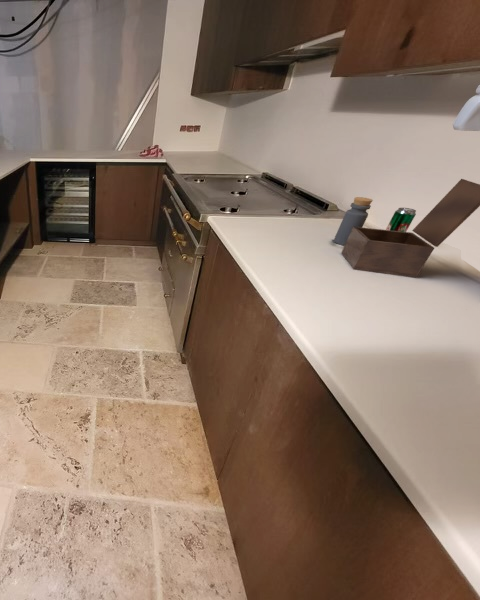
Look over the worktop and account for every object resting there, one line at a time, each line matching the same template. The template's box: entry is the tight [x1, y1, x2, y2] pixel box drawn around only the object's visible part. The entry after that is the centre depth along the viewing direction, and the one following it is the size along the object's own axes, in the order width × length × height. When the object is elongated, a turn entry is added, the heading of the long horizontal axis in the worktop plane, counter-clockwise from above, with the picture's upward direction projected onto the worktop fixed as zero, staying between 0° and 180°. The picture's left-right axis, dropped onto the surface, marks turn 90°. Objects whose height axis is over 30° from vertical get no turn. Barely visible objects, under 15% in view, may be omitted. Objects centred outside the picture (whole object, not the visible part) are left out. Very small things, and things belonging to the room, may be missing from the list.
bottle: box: [333, 196, 374, 246], centre depth 107 cm, size 6×6×15 cm
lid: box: [411, 178, 480, 248], centre depth 84 cm, size 15×13×1 cm
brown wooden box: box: [341, 227, 435, 279], centre depth 94 cm, size 15×13×9 cm
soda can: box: [385, 207, 417, 232], centre depth 106 cm, size 5×5×12 cm
